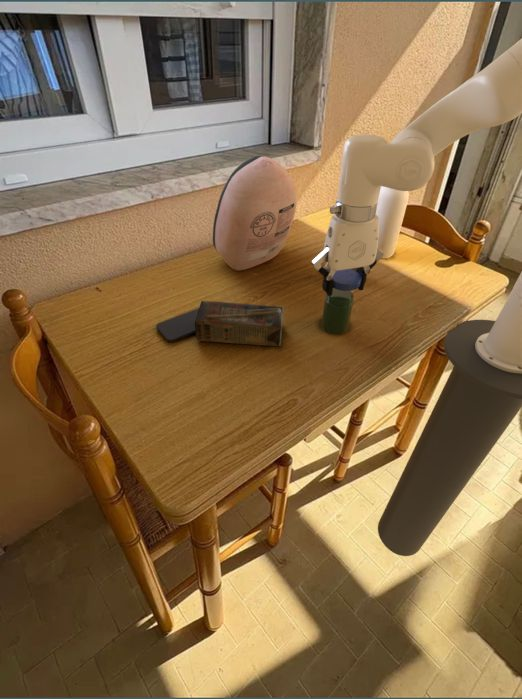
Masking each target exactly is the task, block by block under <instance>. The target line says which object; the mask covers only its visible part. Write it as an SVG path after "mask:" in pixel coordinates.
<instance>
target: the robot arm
mask: <svg viewBox="0 0 522 699" xmlns="http://www.w3.org/2000/svg"><path fill="white" fill-rule="evenodd" d="M520 115H522V38H520V39H519V40H518V41H516V43H514V44H513V45H512V46H511V47H509V48H508V49H507V50H505V51H504V52H503V53H502V54H500V55H499V56H498V57H496V58H495V59H494V60H493V61H491V63H489V64H488V65H487V66H485V67H484V68H483V69H482V70H480V71H479V72H477V73H476V74H474V75H473V76H471V77H470V78H468V79H466V81H465V82H463V83H462V84H460V85H459V86H457V87H456V88H455V89H453V90H452V91H450V92H449V93H448V94H446V95H445V96H443V97H442V98H440V99H439V100H438V101H436V102H435V103H434V104H433V105H432V106H430V107H429V108H427V109H426V110H425V111H423V113H421V114H420V115H419V116H418V117H417V118H415V119H414V120H413V121H412V122H410V123H409V124H407V126H406V127H404V128H403V129H402V130H401V131H400V132H399V133H398V134H396V135H395V137H394V138H393V139H392V141H391V142H390V143H388V141H387V139H386V138H384V137H383V136H380V135H376V134H367V133H365V134H355V135H352V136H349V137H348V138H347V139H346V140H345V142H344V144H343V148H342V156H341V165H340V172H339V180H338V188H337V196H336V197H337V198H336V200H335V204H334V205H333V206H332V205H331V206H330V207H329V213H330V214H331V218H330V221H329V225H328V228H327V231H326V235H325V240H324V246H323V250H322V251H321V252H320V253H318V255H316V256H315V258H313V259H312V261H311V262H310V264H311V265H312V266H313V267H314V268H315V270H316V271H317V272H318V273H319V274H320V275H321V276H323V277H322V286H321V288H322V290H323V292H324V293H325V294H326V295H328V296H331V295H332V291H333V284H334V280H333V279H332V277H333V275H334V274H335V272H336V271H340V270H347V269H353V268H357V270H356V272H358V273H359V274H360V275H361V279H362V280H361V284H360V286H359V288H357V289H358V290H359V291H364V288H365V285H366V281H367V276H368V275H369V274H370V273H371V270H372V269H373V268H374V267H375V266H376V265H377V263H378V262H379V261H380V260H381V259H382V258H381V257H382V256H383V255H384V253H383V252H382V251H381V250H380V249H379V248H378V238H379V217H378V216H377V215H376V209H377V204H378V199H379V194H380V189H381V186H384V187H387V188H391V189H395V190H400V191H409V192H413V191H416V190H419V189H421V188H423V187H424V186H425V185H426V184H427V183H428V182H429V181H430V180H431V178H432V176H433V175H434V171H435V166H436V163H435V162H436V160H435V157H436V156H437V155H438V154H439V153H441V152H442V151H444V150H446V149H447V148H448V147H450V146H451V145H452V144H454V143H455V142H458V140H460V139H462V138H465V137H466V136H467V135H470V134H472V133H474V132H477V131H481V130H484V129H489V128H494V127H498V126H501V125H503V124H506V123H509V122H511V121H513V120H515V119H516V118H518V117H519V116H520ZM323 262H326V263H325V265H324V266H323V265H322V263H323ZM505 300H506V301H505V302H504V304H503V306H502V308H501V310H500V312H499V314H498V316H497V318H496V320H494V321H495V323H494V325H493V327H492V329H491V331H490V333H486V334H483V335H481V336H480V337H478V339H477V341H476V343H475V349H476V351H477V353H478V355H479V356H480V357H481V358H482V359H483V360H484V361H485V362H487V363H488V364H490V365H492V366H494V367H495V368H498V369H500V370H503V371H506V372H511V373H519V374H522V271H520V274H519V275H518V278H517V279H516V282H515V283H514V285H513V287H512V289H511V291H510V293H509V295H508V296H507V298H506V299H505Z"/></svg>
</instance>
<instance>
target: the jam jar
mask: <svg viewBox="0 0 522 699" xmlns="http://www.w3.org/2000/svg"><path fill="white" fill-rule="evenodd" d="M354 302H355V299H354V294H353V292H352V291H341V290H337V289H335V288H333V291H332V295H331V296H328V295H327V294H326V295H325V297H324V304H323V310H322V316H321V324H320V325H321V327H322V329H323V330H324V331H325V332H327V333H330V334H335V335H336V334H343V333H345V332H347V331H348V330H349V326H350V322H351V317H352V313H353V307H354Z"/></svg>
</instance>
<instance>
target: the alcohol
mask: <svg viewBox="0 0 522 699" xmlns="http://www.w3.org/2000/svg"><path fill="white" fill-rule="evenodd" d="M409 193H410V191H400V190H395V189H391V188H387V187H384V186H381V189H380V194H379V199H378V204H377V209H376V215H377V216H378V217H379V238H378V248H379V249H380V250H381V251H382V252H383V253H384V255H383V256H382V257H381V258H380V259H388V258H391V257H392V256H394V254H395V252H396V248H397V244H398V240H399V237H400V233H401V230H402V229H401V228H402V225H403V222H404V217H405V214H406V210H407V206H408V203H409V196H410V194H409Z"/></svg>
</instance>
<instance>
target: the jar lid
mask: <svg viewBox="0 0 522 699" xmlns="http://www.w3.org/2000/svg"><path fill="white" fill-rule="evenodd" d="M332 279H333V280H334V284H333V288H335V289H337V290H341V291H351V292H352V291H355V290H357V289H358V288H359V286H360V284H361V280H362V279H361V275H360V274H359V273H358V272H356V271H354V270H352V269H347V270H340V271H336V272H335V274H334V275H333V277H332Z"/></svg>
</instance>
